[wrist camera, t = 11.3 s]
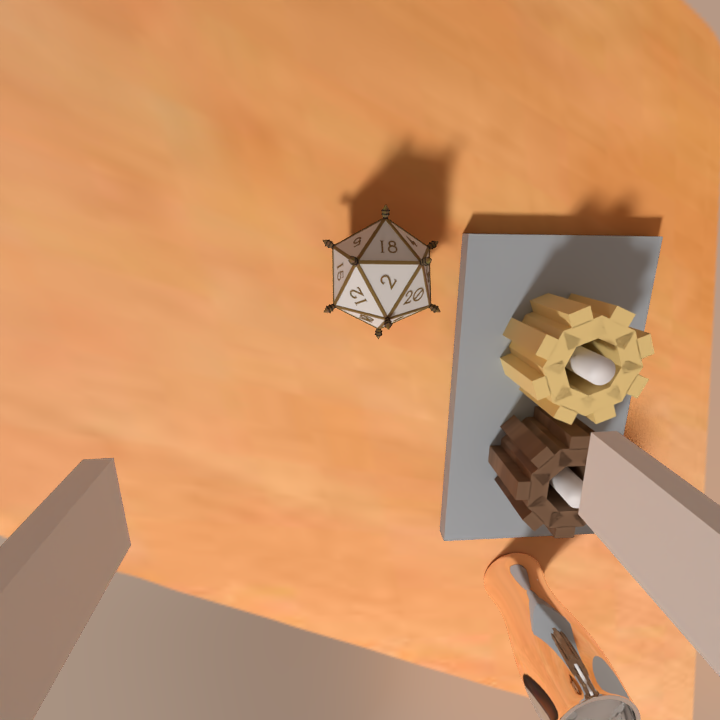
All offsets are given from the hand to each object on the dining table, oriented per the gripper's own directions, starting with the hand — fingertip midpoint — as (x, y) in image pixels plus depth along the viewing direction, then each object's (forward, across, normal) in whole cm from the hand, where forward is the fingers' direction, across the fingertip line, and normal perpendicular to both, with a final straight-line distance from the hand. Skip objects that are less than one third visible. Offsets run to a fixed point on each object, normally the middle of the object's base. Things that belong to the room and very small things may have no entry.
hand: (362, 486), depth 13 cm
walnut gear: (+24, +18, -14) cm, 33 cm away
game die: (+26, +4, +3) cm, 27 cm away
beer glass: (+26, +18, -29) cm, 42 cm away
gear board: (+26, +18, -9) cm, 33 cm away
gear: (+24, +18, -4) cm, 31 cm away
